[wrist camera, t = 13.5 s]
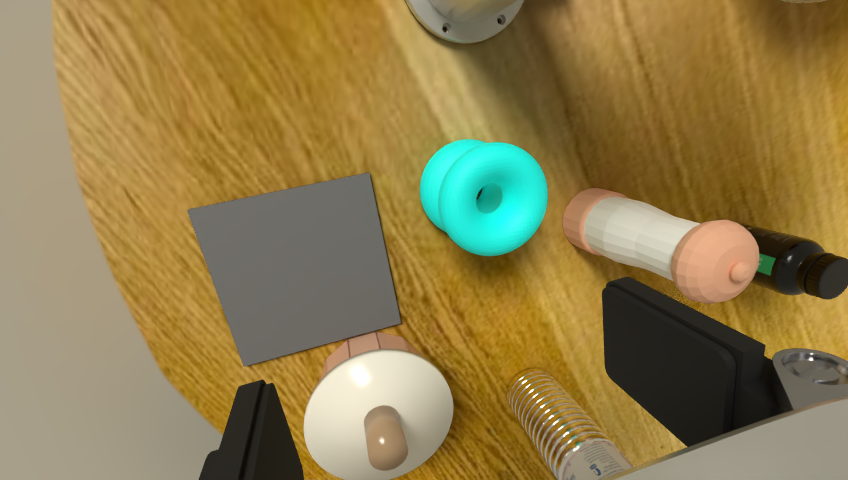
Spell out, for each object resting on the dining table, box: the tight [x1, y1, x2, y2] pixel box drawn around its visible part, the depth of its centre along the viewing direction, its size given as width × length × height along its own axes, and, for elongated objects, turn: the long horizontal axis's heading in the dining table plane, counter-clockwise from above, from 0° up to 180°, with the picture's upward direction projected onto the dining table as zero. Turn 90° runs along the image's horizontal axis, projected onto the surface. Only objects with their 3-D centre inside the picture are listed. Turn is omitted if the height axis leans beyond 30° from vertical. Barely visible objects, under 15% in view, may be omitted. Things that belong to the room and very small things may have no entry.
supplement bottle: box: [740, 224, 848, 300], centre depth 49 cm, size 7×7×12 cm
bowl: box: [318, 332, 420, 383], centre depth 45 cm, size 12×12×6 cm
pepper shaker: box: [563, 188, 759, 304], centre depth 40 cm, size 7×7×19 cm
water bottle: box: [507, 368, 634, 480], centre depth 42 cm, size 7×7×25 cm
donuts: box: [420, 139, 548, 256], centre depth 39 cm, size 10×10×10 cm
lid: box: [304, 349, 453, 480], centre depth 39 cm, size 15×15×5 cm
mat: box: [187, 172, 401, 366], centre depth 42 cm, size 17×17×1 cm
